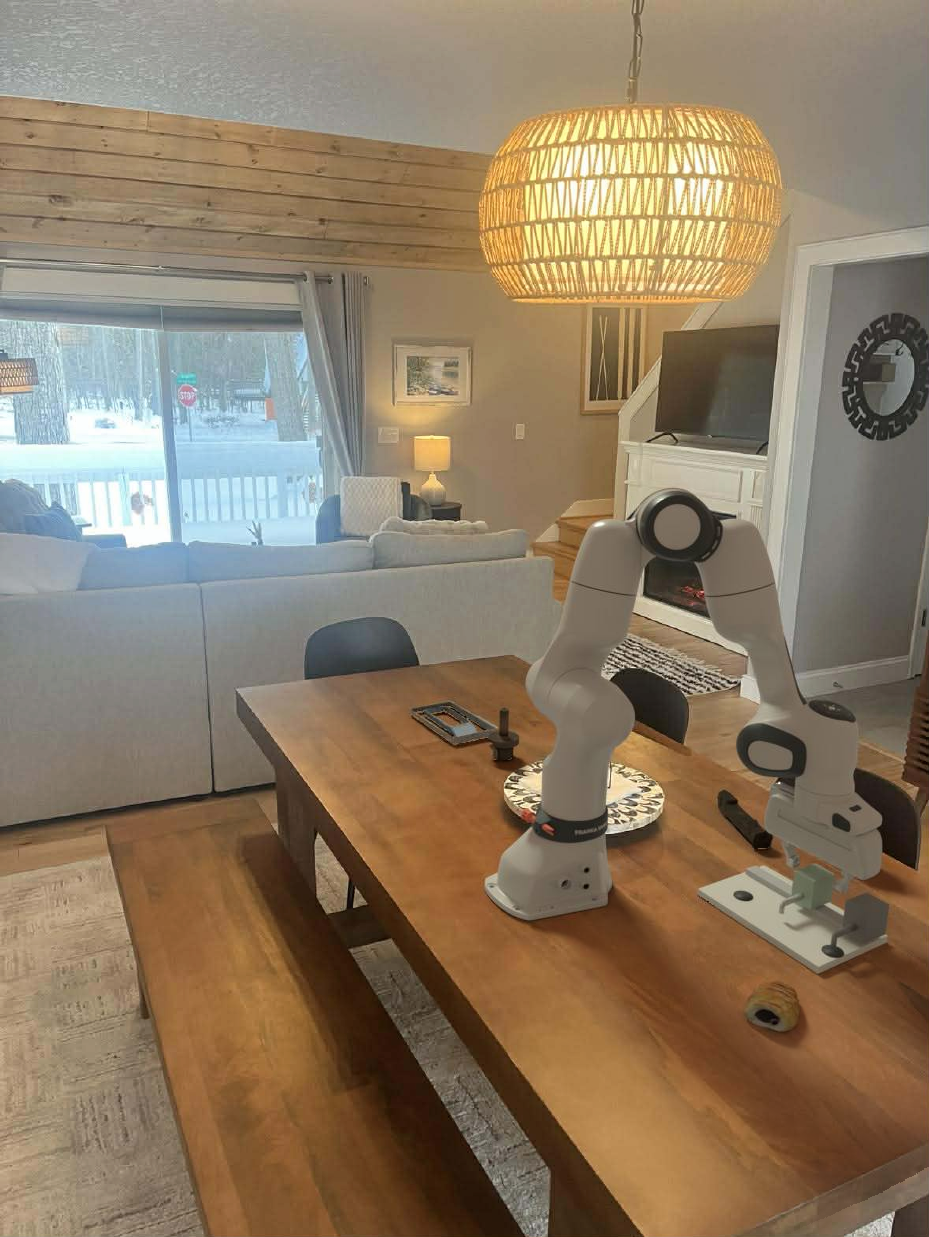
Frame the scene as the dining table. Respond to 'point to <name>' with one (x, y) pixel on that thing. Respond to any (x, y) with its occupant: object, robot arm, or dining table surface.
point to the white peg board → (800, 918)
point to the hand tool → (743, 820)
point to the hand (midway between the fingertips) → (816, 878)
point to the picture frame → (462, 730)
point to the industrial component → (503, 738)
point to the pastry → (773, 1006)
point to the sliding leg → (810, 887)
